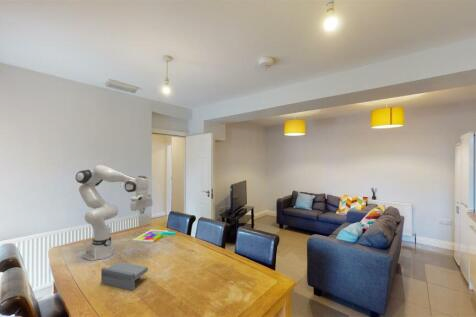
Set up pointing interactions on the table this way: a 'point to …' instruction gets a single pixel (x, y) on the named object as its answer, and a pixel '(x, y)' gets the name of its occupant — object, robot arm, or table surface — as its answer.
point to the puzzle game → (152, 236)
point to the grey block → (122, 275)
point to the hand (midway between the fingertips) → (142, 213)
